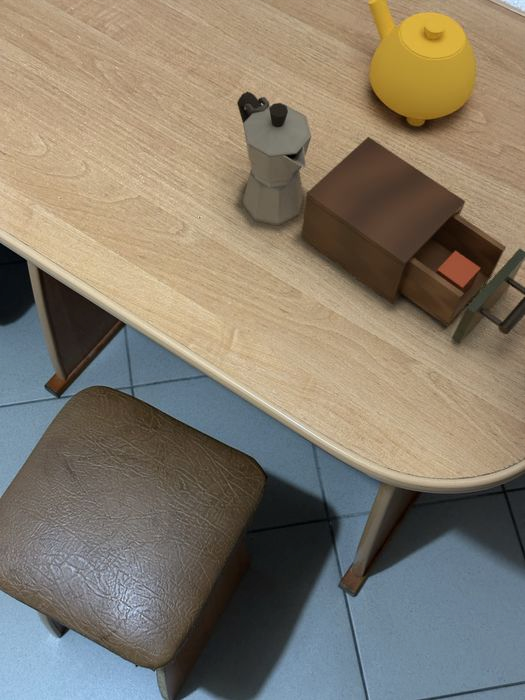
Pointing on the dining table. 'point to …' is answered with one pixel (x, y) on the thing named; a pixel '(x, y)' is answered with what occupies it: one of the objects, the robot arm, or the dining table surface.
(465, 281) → the block
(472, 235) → the drawer
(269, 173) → the coffee maker
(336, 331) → the dining table surface
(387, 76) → the teapot
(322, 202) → the cabinet
